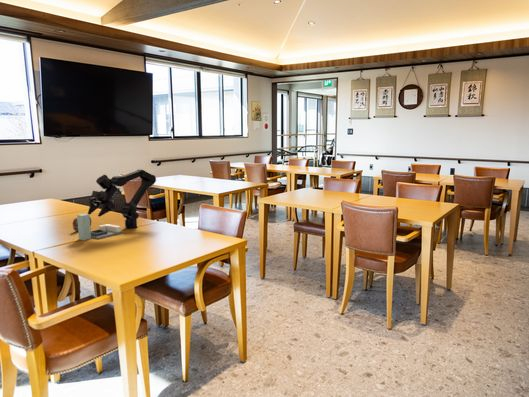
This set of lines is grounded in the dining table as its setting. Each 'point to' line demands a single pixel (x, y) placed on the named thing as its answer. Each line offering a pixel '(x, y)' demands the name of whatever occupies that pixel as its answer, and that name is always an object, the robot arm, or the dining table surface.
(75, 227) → the tin
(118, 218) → the dining table surface
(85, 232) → the post
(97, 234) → the baseplate
